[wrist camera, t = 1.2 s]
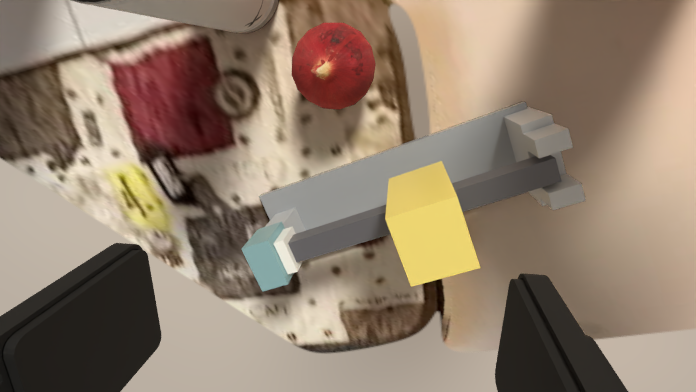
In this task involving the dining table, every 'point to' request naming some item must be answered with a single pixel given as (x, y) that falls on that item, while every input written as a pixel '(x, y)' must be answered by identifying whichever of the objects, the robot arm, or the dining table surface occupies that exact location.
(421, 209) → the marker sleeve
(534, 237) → the dining table surface
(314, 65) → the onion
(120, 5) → the travel mug
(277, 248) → the grey long frame
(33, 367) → the robot arm
